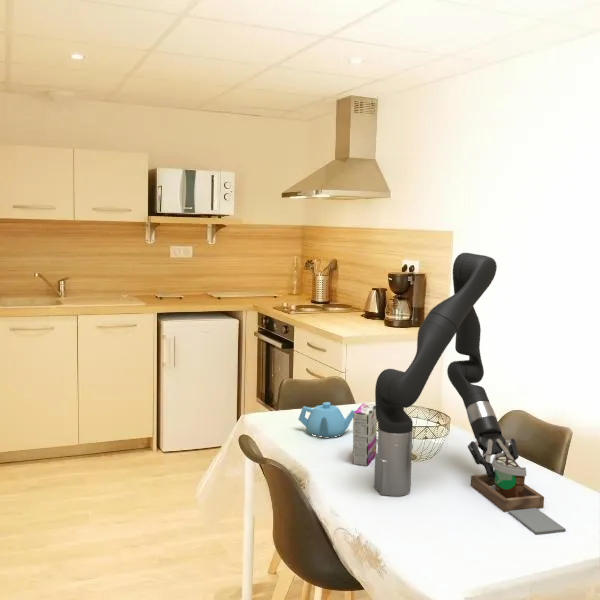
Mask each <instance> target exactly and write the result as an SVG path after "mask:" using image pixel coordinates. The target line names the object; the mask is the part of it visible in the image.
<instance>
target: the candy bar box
mask: <svg viewBox="0 0 600 600" xmlns="http://www.w3.org/2000/svg"><path fill="white" fill-rule="evenodd" d="M354 411H355V412H354V413H353V419H352V421H353V422H352V423H353V426H352V432H353V433H352V435H353V436H352V437H353V439H352V444H353V445H352V447H353V448H352V450H353V451H352V465H355V464H359V465H358V466H362V465H364V466H363V467H368V466H369V465H370V464H369V463H372V461H373V460H374V459H375V454H376V453H377V428H378V427H377V426H378V424H377V423H378V420H377V418H376V405H375V404H373V403H372V404H371V403H365V402H364V403H361V405H360V406H359V407H358V408H357V409H355V410H354Z"/></svg>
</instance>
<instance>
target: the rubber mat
mask: <svg viewBox="0 0 600 600" xmlns="http://www.w3.org/2000/svg"><path fill="white" fill-rule="evenodd" d="M507 513H508V515H510V516H511V517H512V516H513V517H512V518H514V519H515V520H516V521H518V522H519V523H520V524H522V525H523V526H524V527H525V528H527V529H528V530H529V531H530V532H531V533H533V534H534V535H535V536H537V535H538V536H539V535H547V534H554V533H556V534H557V533H564V532H566V530H567V529H566V528H565V527H564V526H562V525H561V524H559V523H558V522H557V521H556V520H554V519H552V518H551V517H550V516H548V515H546V513H544V512H542V511H541V510H539V509H537V508H532V509H522V510H512V511H508V512H507Z"/></svg>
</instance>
